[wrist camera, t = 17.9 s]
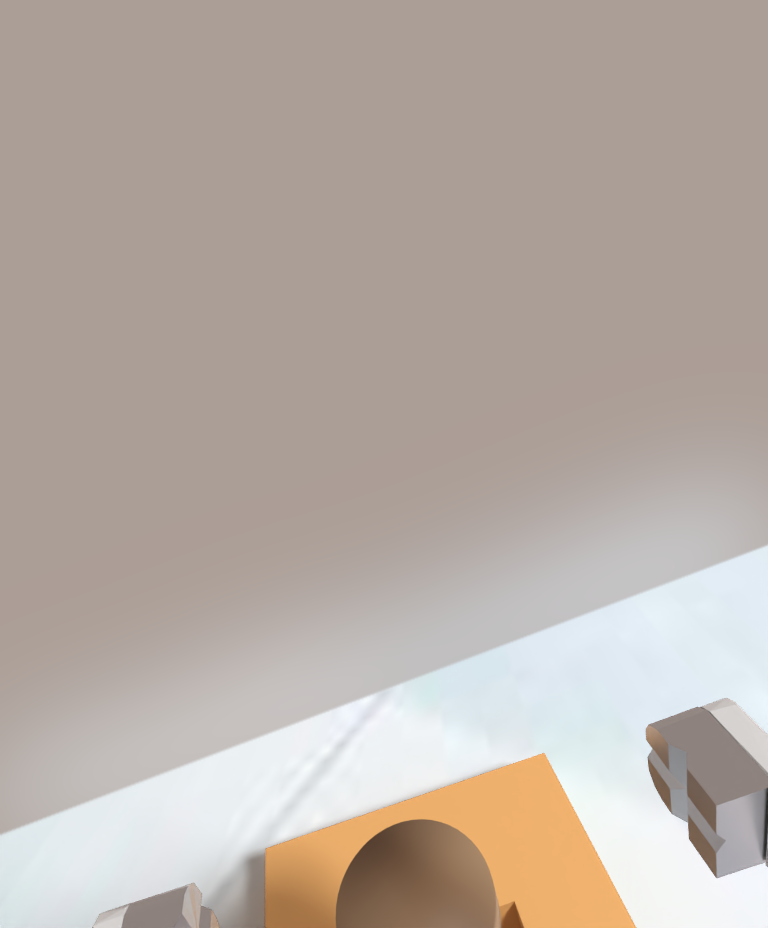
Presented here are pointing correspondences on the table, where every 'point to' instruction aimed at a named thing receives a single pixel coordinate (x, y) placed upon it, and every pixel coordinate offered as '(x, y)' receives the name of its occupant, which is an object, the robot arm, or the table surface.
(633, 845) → the table surface
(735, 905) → the table surface
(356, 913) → the cord spool
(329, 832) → the orange notched slab
